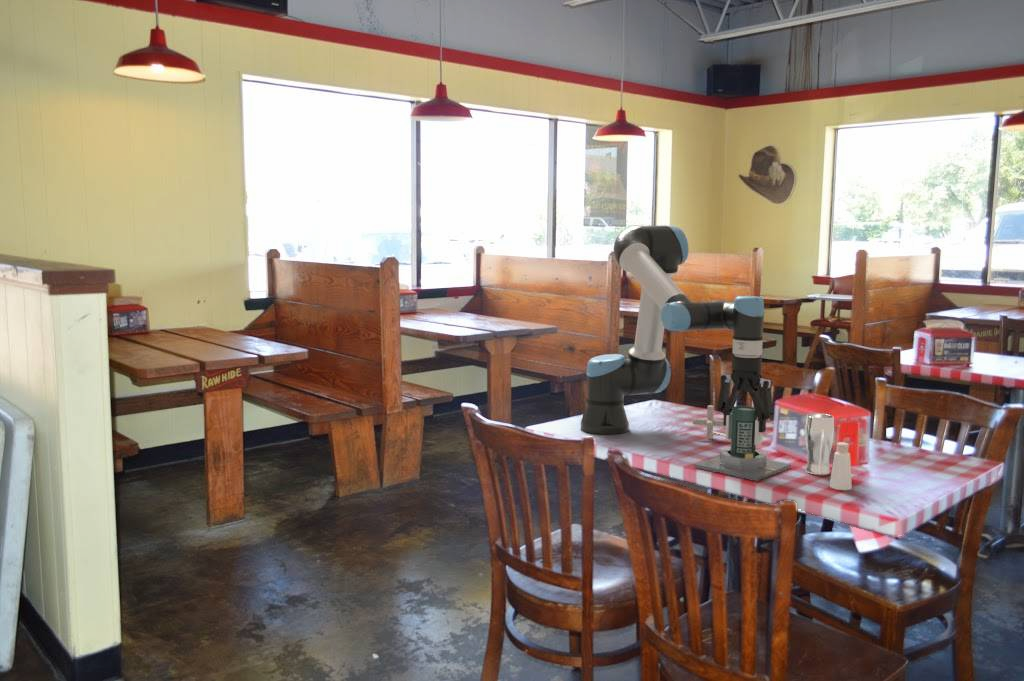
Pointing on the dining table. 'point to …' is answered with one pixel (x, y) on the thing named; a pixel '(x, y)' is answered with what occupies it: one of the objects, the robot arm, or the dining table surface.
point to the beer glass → (819, 442)
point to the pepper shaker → (841, 468)
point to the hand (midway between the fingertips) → (743, 441)
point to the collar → (743, 465)
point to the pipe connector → (709, 422)
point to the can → (743, 430)
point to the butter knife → (718, 433)
